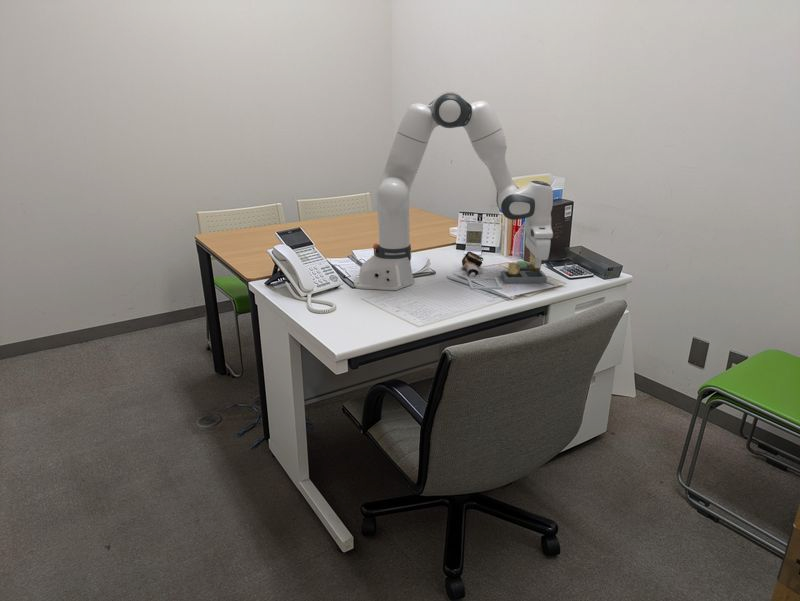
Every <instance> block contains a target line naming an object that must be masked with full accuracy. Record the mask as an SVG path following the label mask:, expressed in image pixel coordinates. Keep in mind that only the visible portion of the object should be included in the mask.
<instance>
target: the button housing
mask: <svg viewBox="0 0 800 601" xmlns="http://www.w3.org/2000/svg"><path fill="white" fill-rule="evenodd" d="M529 266H530V262H528V263H527V268H520V269H519V271H529Z"/></svg>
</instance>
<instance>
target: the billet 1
mask: <svg viewBox="0 0 800 601" xmlns="http://www.w3.org/2000/svg"><path fill="white" fill-rule="evenodd" d="M519 269H520V264H519V263H517V262H514V261H513V262H512V261H511V262H508V267H507V271H508V277H519Z"/></svg>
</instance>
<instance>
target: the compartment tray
mask: <svg viewBox="0 0 800 601" xmlns="http://www.w3.org/2000/svg"><path fill="white" fill-rule="evenodd" d="M499 278H500V280H501V281H502V283H503V285H518V284H519V285H524V284H525V285H529V284H530V285H533V284H534V285H535V284H539V285H540V284H549V282H548V276H547V275H546V274H545V273H544V272H543V270H541V271H540V272H531V271H519V277H508V270H501V271H500V275H499Z"/></svg>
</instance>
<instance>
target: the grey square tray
mask: <svg viewBox="0 0 800 601" xmlns="http://www.w3.org/2000/svg"><path fill="white" fill-rule="evenodd" d="M471 279H485V280H484V281H486V280H487V281H493V280H494V282H495V284H496V285H497V286H474V284H473V282H472V280H471ZM466 280H467V283H468V285H469V289H470V290H503V286H502V283H501V282H500V280H499V278H498V277H497V276H489V277H488V276H485V277H484V276H483V277H481V276H480V277H471V278H469V277H466Z"/></svg>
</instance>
